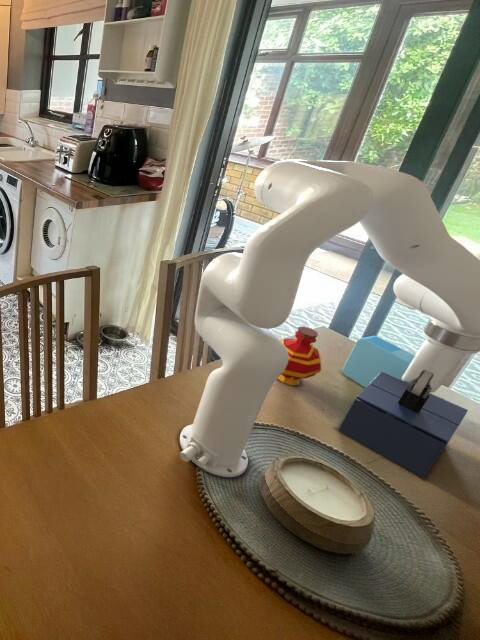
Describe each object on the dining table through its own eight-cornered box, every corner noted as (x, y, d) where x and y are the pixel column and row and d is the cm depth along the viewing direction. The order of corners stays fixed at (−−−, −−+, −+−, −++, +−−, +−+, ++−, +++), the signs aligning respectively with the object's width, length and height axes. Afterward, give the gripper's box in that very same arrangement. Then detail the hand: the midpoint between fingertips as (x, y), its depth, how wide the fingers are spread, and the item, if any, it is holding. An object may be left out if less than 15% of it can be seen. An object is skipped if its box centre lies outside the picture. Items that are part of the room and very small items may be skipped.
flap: (447, 443, 77) (448, 441, 77) (356, 397, 88) (357, 396, 88) (457, 427, 81) (458, 425, 81) (368, 385, 91) (369, 383, 91)
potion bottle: (320, 395, 102) (344, 346, 95) (274, 389, 104) (294, 341, 97) (298, 367, 111) (319, 321, 105) (256, 362, 113) (274, 316, 106)
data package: (405, 401, 100) (429, 362, 95) (393, 405, 99) (416, 366, 94) (352, 369, 110) (371, 333, 105) (340, 372, 109) (358, 335, 104)
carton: (422, 478, 81) (448, 441, 77) (338, 430, 92) (356, 396, 88) (443, 444, 89) (468, 410, 84) (362, 404, 99) (381, 371, 95)
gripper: (437, 313, 84) (396, 382, 91) (414, 337, 76) (372, 409, 84) (492, 332, 78) (444, 404, 86) (473, 359, 71) (422, 435, 78)
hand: (408, 406), depth 85 cm, fingers closed
